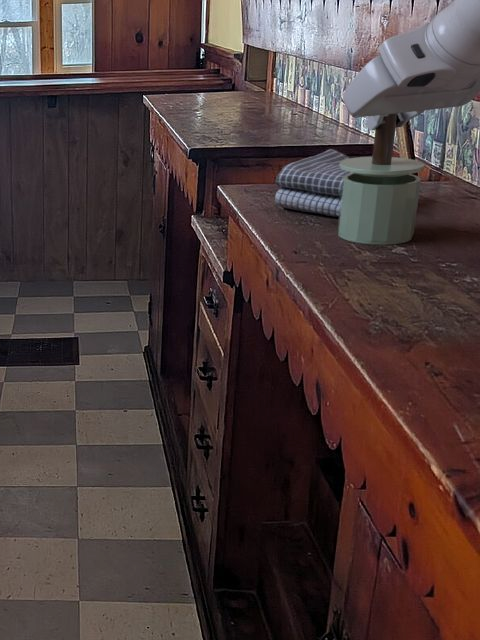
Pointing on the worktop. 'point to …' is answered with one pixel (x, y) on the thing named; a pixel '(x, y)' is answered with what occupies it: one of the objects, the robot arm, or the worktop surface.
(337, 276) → the worktop surface
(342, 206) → the canister
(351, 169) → the lid
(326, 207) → the towel
